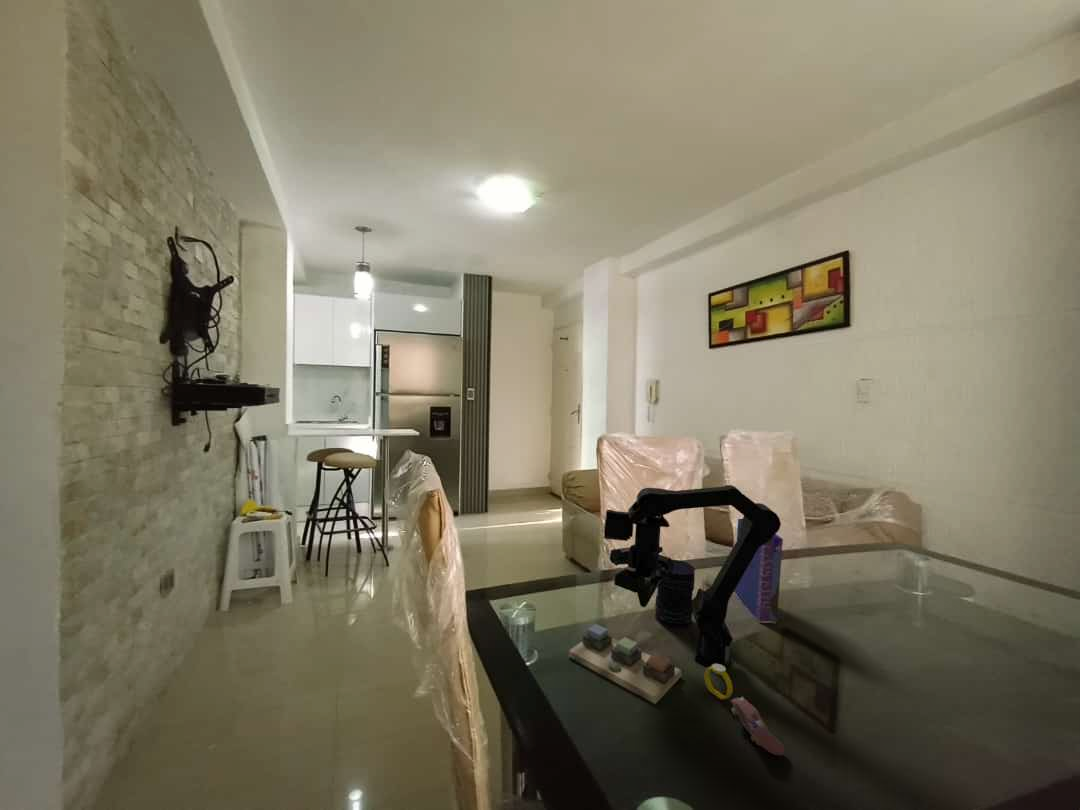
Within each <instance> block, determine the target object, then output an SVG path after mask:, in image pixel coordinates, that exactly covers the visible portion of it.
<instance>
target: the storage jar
mask: <svg viewBox="0 0 1080 810" xmlns="http://www.w3.org/2000/svg"><path fill="white" fill-rule="evenodd" d="M672 561H673V562H674V570H673V571H671V572H670V573H667V572H666V568H664V567H662V568H661V569H660V570H658V571H656V573H658V574H657V575H658V576H660V577H662V578H663V579H662V580H661V582H660V583H659V585H658V587H657V588H656V590H657V593H656V594H657V595H656V597H655V603H654V611H655V614H654V618H655V620H656V622H657V623H659V624H660V625H661V626H664V627H666V628H669V629H673V628H675V630H683V629H682V628H686V629H688V628H690V627H691V626H692V619H693V612H692V605H693V604H692V602H691V600H693V592H694V589H695V579H696V578H695V570H696V568H695V567H694V566H693V565H692V564H691V563H688V562H685V561H683V560H678V559H672ZM690 625H691V626H690ZM689 626H690V627H689ZM687 627H688V628H687Z"/></svg>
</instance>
